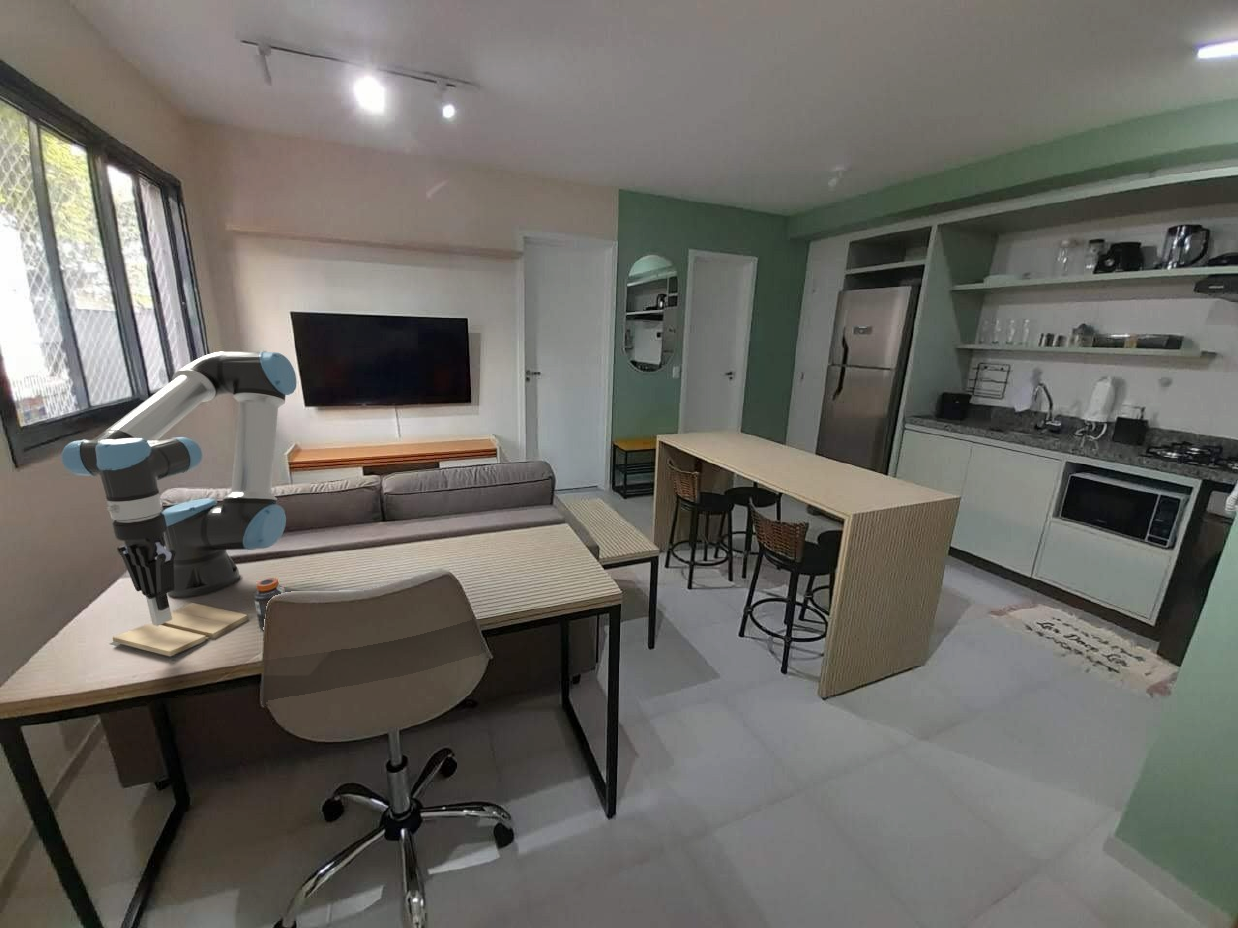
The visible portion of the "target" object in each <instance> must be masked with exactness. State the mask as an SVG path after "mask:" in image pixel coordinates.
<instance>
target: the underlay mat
mask: <svg viewBox="0 0 1238 928" xmlns="http://www.w3.org/2000/svg"><path fill="white" fill-rule="evenodd" d="M253 618H254V617H253V616H249V615H248V620H246V621H244V622H243V623H241V624H239V625H237V626H235V627H234V628H232V629H230V630H228V631H226V632H224V633H223V634H221V635H219V636H217V637H215V638H210V637H209V639H208V640H206V641H204V642H202V643H199V644H197V645H195V646H193V647H190V648H188V649H186V650H184V651H182V652H179V653H177V654H175V655H173V656H166V655H162V654H159V653H155V652H151V651H147V650H143V649H139V648H135V647H131V646H127V645H124V644H120V643H116V642H113V641H112V642H110V643H109V645H112V646H116V647H120V648H122V649H123V648H124V649H128V650H130V651H135V652H139V653H142V654H143V653H144V654H146V655H151V656H154V657H158V658H163V659H166V660H170V661H177V660H179V659H181V658H183V657H184V656H186V655H188V654H191V653H192V652H193V651H195V650H197V649H199V648H201V647H202V646H204V645H206V644H208V643H210V642H213V641H214V640H215V639H218V638H219V637H221V636H223V635H225V634H226V633H228V632H230V631H232V630H233V629H235V628H237V627H239V626H241V625H243V624H244V623H246V622H248V621H250V620H252V619H253Z"/></svg>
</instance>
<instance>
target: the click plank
mask: <svg viewBox="0 0 1238 928" xmlns="http://www.w3.org/2000/svg"><path fill="white" fill-rule="evenodd" d="M208 639H209V637H206V636H205V635H200V634H196V633H192V632H188V631H184V630H179V629H175V628H171V627H167V626H162V625H159V626H155V625H153V624H152V622H149V623H147V624H144V625H142V626H139V627H136V628H134V629H131V630H128V631H125V632H123V633H120V634H117V635H115V636H112V642H116V643H120V644H124V645H127V646H131V647H135V648H139V649H143V650H147V651H151V652H155V653H159V654H162V655H166V656H173V655H175V654H177V653H179V652H182V651H184V650H186V649H188V648H190V647H193V646H195V645H197V644H199V643H202V642H204V641H206V640H208Z"/></svg>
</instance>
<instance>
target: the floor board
mask: <svg viewBox="0 0 1238 928" xmlns="http://www.w3.org/2000/svg"><path fill="white" fill-rule="evenodd" d="M171 616H172V620H170V621H168V622H165V623H163V624H161V625H162V626H167V627H171V628H175V629H179V630H184V631H188V632H192V633H196V634H200V635H205V636H206V637H210V638H215V637H217V636H219V635H221V634H223V633H224V632H226V631H228V630H230V629H232V628H234V627H235V626H237V625H239V624H241V623H243V622H244V621H246V620H248V616H249V615H248V614H246V613H242V612H237V611H232V610H227V609H221V608H218V607H212V606H210V605H209V606H208V605H204V604H199V603H194V602H190V603H188V604H186V605H184V606H183V607H180V608H177V609H175V610H174V611H173V610H172V611H171ZM248 621H249V620H248ZM246 622H247V621H246ZM244 623H245V622H244ZM244 623H243V624H244ZM241 625H242V624H241ZM239 626H240V625H239ZM237 627H238V626H237ZM235 628H236V627H235ZM235 628H234V629H235ZM232 630H233V629H232ZM230 631H231V630H230ZM228 632H229V631H228ZM226 633H227V632H226ZM224 634H225V633H224ZM224 634H223V635H224ZM221 636H222V635H221ZM219 637H220V636H219ZM217 638H218V637H217ZM215 639H216V638H215Z"/></svg>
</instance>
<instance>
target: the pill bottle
mask: <svg viewBox="0 0 1238 928" xmlns="http://www.w3.org/2000/svg"><path fill="white" fill-rule="evenodd" d="M256 588H257V590H256V591H255V593H254V594H253V599H254V601H253V602H254V605H255V610H256V616H257V621H258V626H259V629H260V630H261V631H263V627H264V619H265V614H266V606H267V603H268V601H269V600H270V599H271V598H272V597H273V596H275V595H278V594H281V593H285V594H286V591H285V587H283V586H282V585H280V584H279V579H278V578H275V577H269V578H264V579H262V580H261V579H260V581H258V582H257V583H256Z"/></svg>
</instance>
